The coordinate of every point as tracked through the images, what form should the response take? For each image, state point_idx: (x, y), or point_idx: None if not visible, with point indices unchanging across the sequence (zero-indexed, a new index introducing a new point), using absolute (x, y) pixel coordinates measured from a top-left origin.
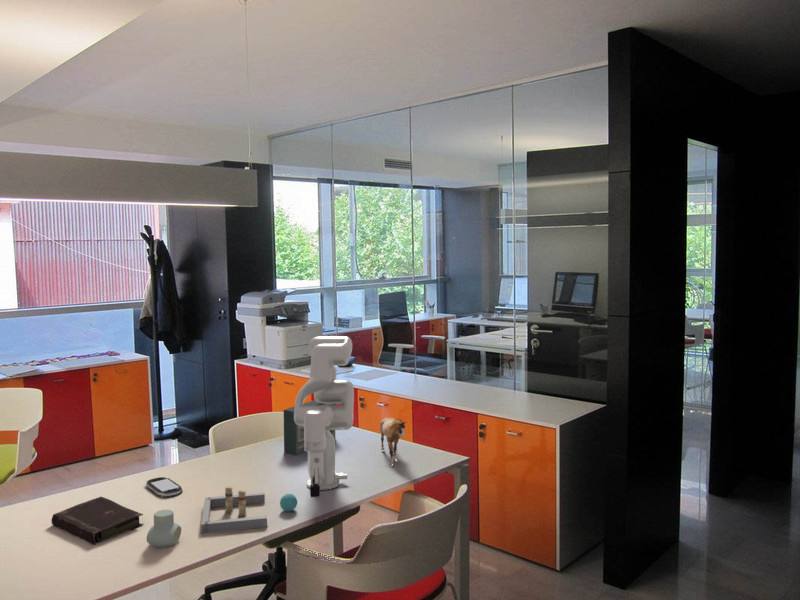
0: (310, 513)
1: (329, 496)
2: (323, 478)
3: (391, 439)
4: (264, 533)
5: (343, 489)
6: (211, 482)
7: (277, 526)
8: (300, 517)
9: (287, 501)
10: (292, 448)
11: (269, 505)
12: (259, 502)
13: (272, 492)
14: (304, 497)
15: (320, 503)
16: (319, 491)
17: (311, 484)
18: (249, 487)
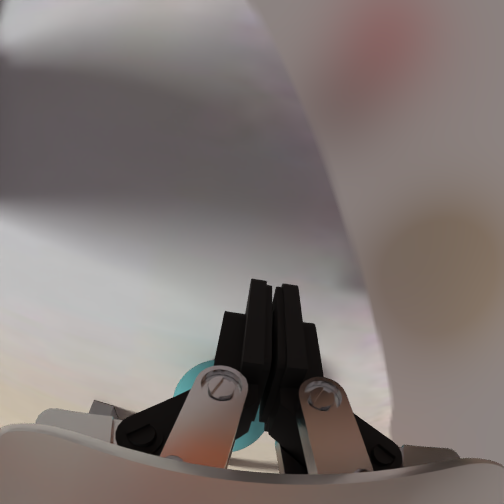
0: (312, 292)
1: (69, 106)
2: (502, 465)
3: None
4: (381, 432)
5: (12, 17)
6: (4, 421)
7: (361, 411)
8: (335, 343)
9: (261, 434)
10: None
11: (143, 404)
12: (116, 417)
13: (23, 357)
14: (61, 263)
15: (169, 192)
16: (299, 317)
17: (280, 445)
18: (5, 387)
